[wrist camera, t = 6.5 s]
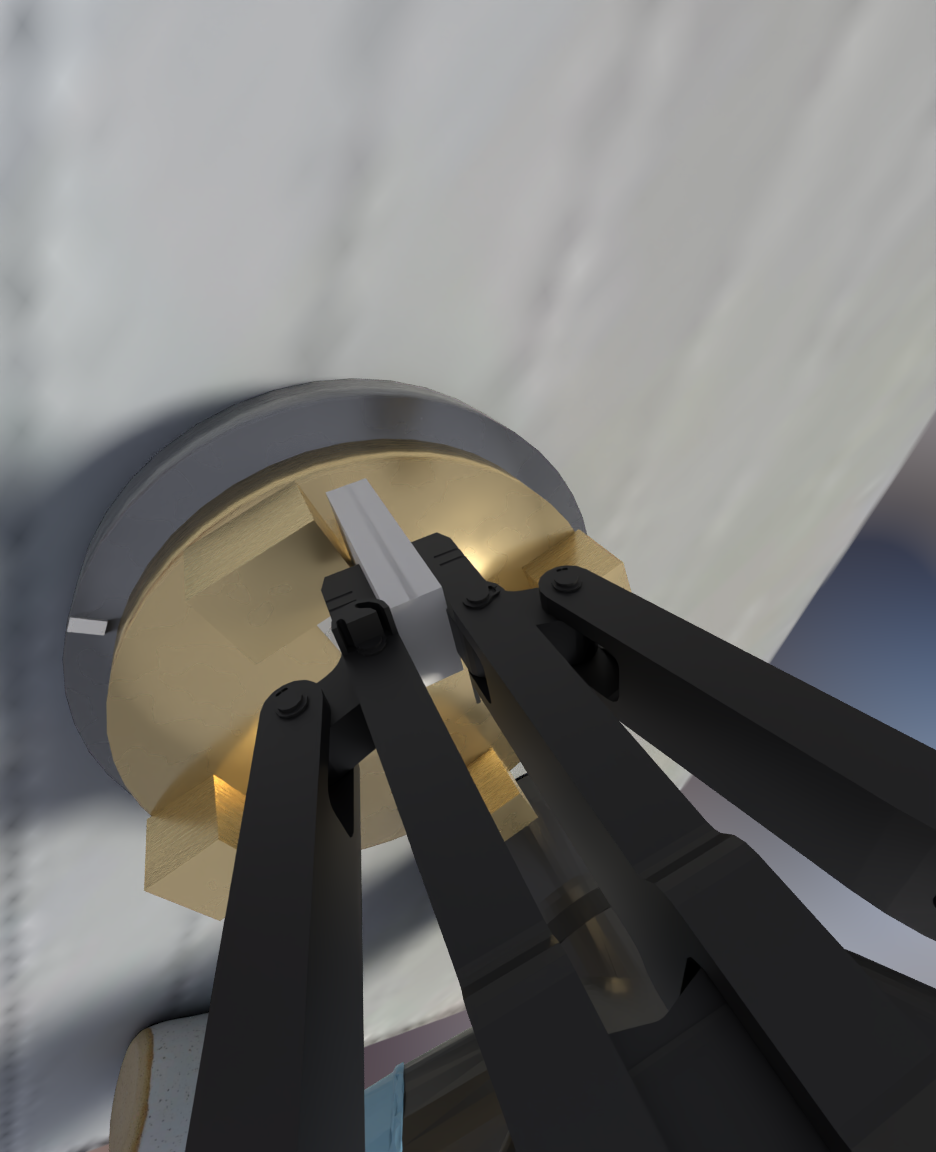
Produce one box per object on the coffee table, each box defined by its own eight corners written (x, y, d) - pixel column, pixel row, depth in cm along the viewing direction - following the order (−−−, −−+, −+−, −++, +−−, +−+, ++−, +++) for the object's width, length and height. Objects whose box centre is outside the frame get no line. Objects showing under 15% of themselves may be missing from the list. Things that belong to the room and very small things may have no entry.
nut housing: (613, 600, 36) (644, 627, 33) (333, 836, 36) (344, 879, 33) (408, 242, 20) (440, 245, 18) (-88, 658, 20) (-122, 716, 18)
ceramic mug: (141, 1003, 36) (134, 1156, 30) (264, 980, 41) (278, 1109, 35) (97, 1090, 39) (83, 1244, 33) (215, 1059, 44) (221, 1189, 38)
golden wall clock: (630, 489, 27) (715, 538, 23) (488, 790, 35) (531, 867, 31) (136, 370, 16) (124, 423, 12) (96, 847, 24) (80, 978, 20)
